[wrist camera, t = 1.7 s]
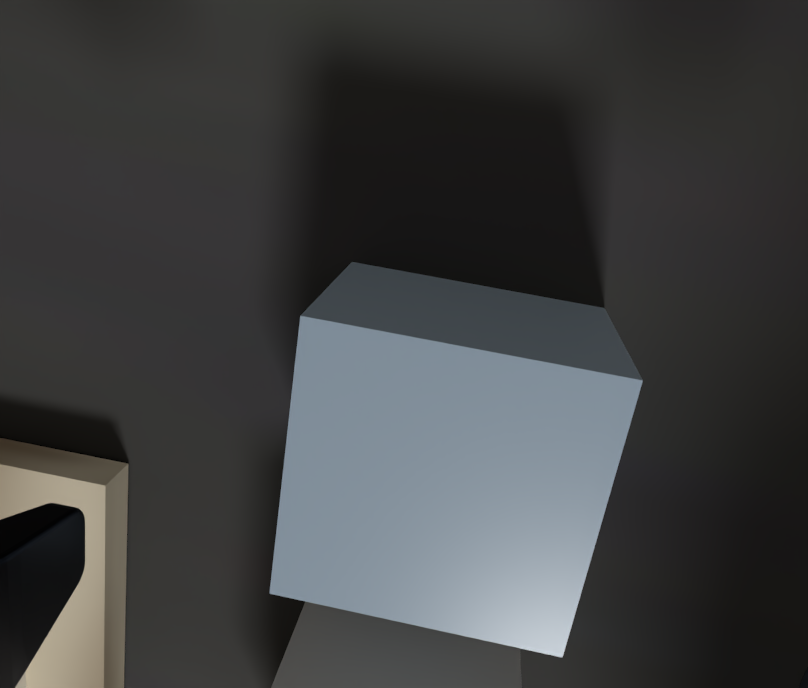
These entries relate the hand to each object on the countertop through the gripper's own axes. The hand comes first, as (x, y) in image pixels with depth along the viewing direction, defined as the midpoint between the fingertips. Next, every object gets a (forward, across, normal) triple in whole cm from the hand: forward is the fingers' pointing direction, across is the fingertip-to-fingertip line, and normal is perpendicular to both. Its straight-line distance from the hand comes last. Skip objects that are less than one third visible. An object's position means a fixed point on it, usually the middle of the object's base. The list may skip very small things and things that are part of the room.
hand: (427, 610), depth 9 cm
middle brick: (+6, 0, 0) cm, 7 cm away
